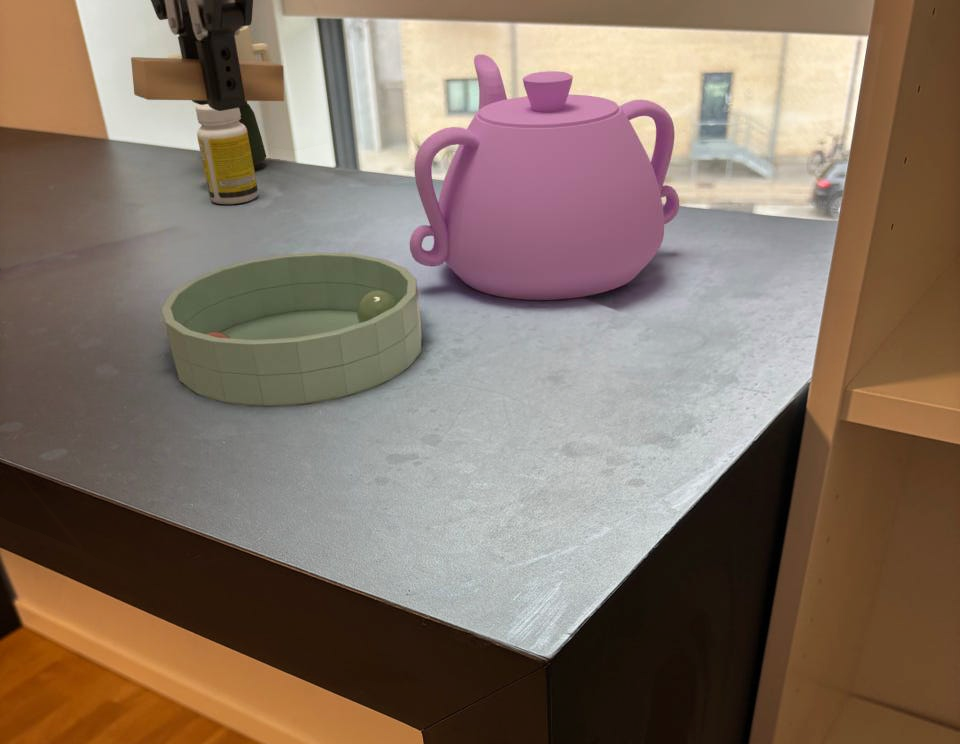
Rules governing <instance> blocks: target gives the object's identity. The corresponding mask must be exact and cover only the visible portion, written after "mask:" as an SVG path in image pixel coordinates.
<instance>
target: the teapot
mask: <svg viewBox="0 0 960 744" xmlns="http://www.w3.org/2000/svg"><path fill="white" fill-rule="evenodd" d="M473 65H474V69H475V72H476V76H477V82H478V83H477V84H478V111H477V112H476V113H475V115H474V116H473V118H472V119H471V121H470V123H469V125H468V126H467V128H464V127H460V126H459V127H458V126H450V127H445V128H442V129H440V130H437V131H436V132H433V133H432V134H431V135H430V136H428V137H427V138H426V139H425V140H424V141H423V143H422V144H421V145H420V146H419V148H418V149H417V152H416V155H415V159H414V167H413V168H414V169H413V170H414V179H415V184H416V188H417V192H418V195H419V198H420V201H421V204H422V207H423V210H424V212H425V214H426V218H427V221H428V223H429V225H427V224H423V225H420V226H417V227H416V228H415V229H414V230H413V231H412V234H411V235H410V238H409V239H410V240H409V251H410V254H411V257H412V259H413V260H414V261H415V262H416V263H418V264H420V265H422V266H425V267H438V266H441V265H443V264H444V263H445V264H446V265H447V266H448V267H449V268H450V269H451V270H452V272H454V273H455V275H457V277H458V278H459V279H460V280H461V281H462V282H463V283H465V285H468V287H470V288H472V289H473V290H476V291H479V292H480V293H481V292H482V293H484V294H488V295H492V296H495V297H502V298H507V299H515V300H527V301H556V300H567V299H575V298H576V299H577V298H584V297H588V296H593V295H598V294H601V293H605V292H609V291H612V290H615V289H617V288H620V287H622V286H624V285H627V284H628V283H629V282H631V281H632V280H634V279H635V278H636V277H637V276H638V275H639V274H640V273H641V271H642V270H644V268H645V267H647V265H648V264H649V263H650V262H651V260H652V259H653V258H654V256H656V254H657V253H658V251H659V250H660V248H661V247H662V243H663V240H664V236H665V225H667V224H668V223H670V222H671V221H672V220H673V219H675V217H676V216H677V215H678V214H679V213H678V212H679V211H680V198H679V194H678V193H677V191H676V189H675V188H673V186H670V185H665V184H664V183H665V180H666V177H667V173H668V171H669V166H670V163H671V160H672V156H673V151H674V144H675V125H674V122H673V119H672V117H671V114H670V113H669V112H668V111H667V110H666V109H665V108H664V107H663V106H661V105H660V104H658V103H656V102H654V101H651V100H648V99H633V100H630V101H627V102H625V103H623V104H621V105H618V103H617V102H615V101H613V100H611V99H609V98H605V97H600V96H595V95H587V94H586V95H585V94H571V93H570V90H571V87H572V84H573V79H574V77H573V75H572V74H570V73H568V72H566V71H565V72H564V71H558V70H557V71H556V70H555V71H553V70H551V71H550V70H549V71H548V70H547V71H539V72H533V73H529V74H527V75H525V76H523V78H522V83H523V88H524V90H525V94H526V96H517V97H512V98H508V97H507V93H506V89H505V85H504V82H503V78H502V74H501V71H500V68H499V66H498V64H497V63H496V62H495V60H494V59H493V58H492V57H491V56H488V55H486V54H483V53H482V54H481V53H479V54H476V55H475V56H474V58H473ZM639 117H648V118H651V119H652V120H653V122H654V125H655V142H654V147H653V151H652V152H653V153H652V156H651V160H650V157H649V155H648V153H647V151H646V149H645V147H644V145H643V143H642V142H641V140H640V137H639V136H638V134H637V132H636V130H635V128H634V126H633V125H632V122H631V120H634V119H636V118H639ZM455 145H458V146H457V148H456V151H455V153H454V155H453V156H452V159H451V161H450V163H449V165H448V169H447V171H446V174H445V176H444V179H443V182H442V185H441V189H440V192H439V197H438V198H437V194H436V191H435V187H434V183H433V174H432V168H433V167H432V166H433V163H434V159H435V157H436V156H437V154H438V153H440V151H442V150H444V149H446V148H448V147H451V146H455ZM664 197H665V203H664V204H663V200H662V198H664ZM426 237H433V246H432V248H431V249H430V250H426V249H424V248H423V241H424V239H425V238H426Z"/></svg>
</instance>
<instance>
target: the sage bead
mask: <svg viewBox="0 0 960 744" xmlns="http://www.w3.org/2000/svg"><path fill="white" fill-rule="evenodd" d="M397 303H398V301H397V299H396V298H395V297H394V296H393V295H392V294H390V293H388V292H386V291H383V290H374V291H371V292H369V293H367V294H365V295H364V296H363V297H362V299H361V300H360V302H359V304H358V307H357V319H358V322H359V323H362V322H365V321H369V320H370V319H372V318H374V317H376V316H378V315H380V314H382V313H384V312H386V311H387V310H389V309H391V308H393V307H394V306H395V305H396V304H397Z"/></svg>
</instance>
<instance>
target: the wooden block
mask: <svg viewBox="0 0 960 744" xmlns="http://www.w3.org/2000/svg"><path fill="white" fill-rule="evenodd" d="M130 63H131V73H132V84H133V94H134V96H137V97H139V98H142V99H144V100H148V101H192V100H207V94H206V89H205V84H204V79H203V73H202V68H201V63H200V61H199V59H174V58H167V57H143V56H142V57H141V56H131V57H130ZM239 65H240V71H241V77H242V83H243V89H244V95H245V101H247V102H283V101H285V85H284V84H285V83H284V79H285V78H284V74H285V73H284V65H283V64H278V63H275V62H272V61H271V62H263V61H262V60H258V61H257V60H255V61H239Z"/></svg>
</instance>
